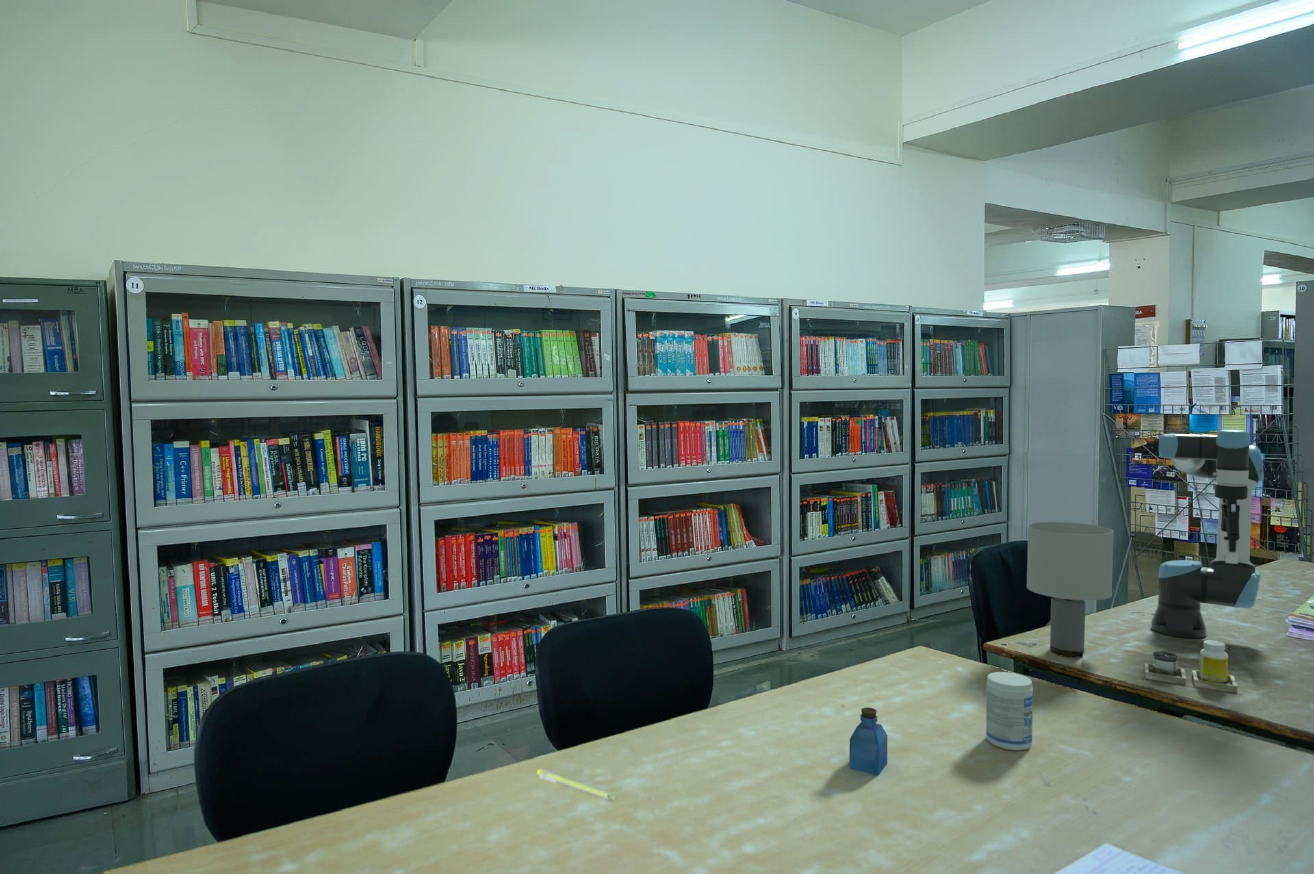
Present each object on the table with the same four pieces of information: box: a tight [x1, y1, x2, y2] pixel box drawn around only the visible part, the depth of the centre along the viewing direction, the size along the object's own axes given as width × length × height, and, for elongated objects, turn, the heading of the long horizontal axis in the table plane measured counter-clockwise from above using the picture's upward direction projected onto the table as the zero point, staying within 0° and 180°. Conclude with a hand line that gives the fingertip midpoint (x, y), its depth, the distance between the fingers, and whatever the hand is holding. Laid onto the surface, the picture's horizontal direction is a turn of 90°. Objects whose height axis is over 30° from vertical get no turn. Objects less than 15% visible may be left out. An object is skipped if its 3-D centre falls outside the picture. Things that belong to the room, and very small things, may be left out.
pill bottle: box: [1198, 639, 1229, 684], centre depth 209 cm, size 6×6×11 cm
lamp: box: [1026, 521, 1115, 658], centre depth 237 cm, size 23×23×38 cm
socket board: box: [1140, 662, 1243, 695], centre depth 212 cm, size 11×22×3 cm, turn 59°
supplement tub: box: [985, 671, 1034, 751], centre depth 177 cm, size 10×10×15 cm
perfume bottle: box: [848, 707, 888, 777], centre depth 166 cm, size 6×6×12 cm
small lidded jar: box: [1152, 650, 1179, 676], centre depth 214 cm, size 6×6×6 cm
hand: (1228, 558), depth 224 cm, fingers open, 13 cm apart
